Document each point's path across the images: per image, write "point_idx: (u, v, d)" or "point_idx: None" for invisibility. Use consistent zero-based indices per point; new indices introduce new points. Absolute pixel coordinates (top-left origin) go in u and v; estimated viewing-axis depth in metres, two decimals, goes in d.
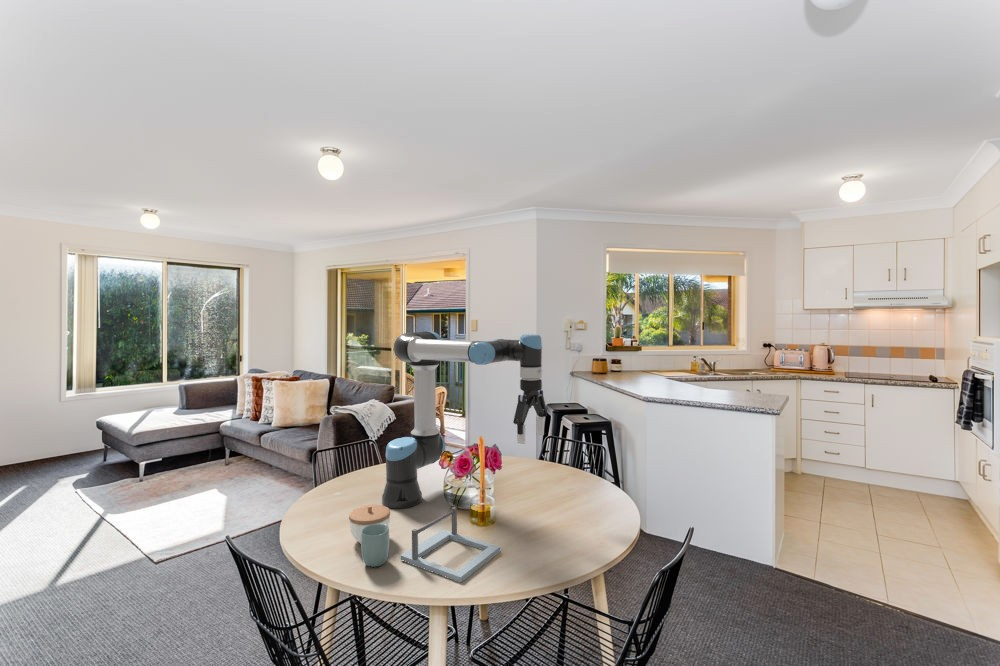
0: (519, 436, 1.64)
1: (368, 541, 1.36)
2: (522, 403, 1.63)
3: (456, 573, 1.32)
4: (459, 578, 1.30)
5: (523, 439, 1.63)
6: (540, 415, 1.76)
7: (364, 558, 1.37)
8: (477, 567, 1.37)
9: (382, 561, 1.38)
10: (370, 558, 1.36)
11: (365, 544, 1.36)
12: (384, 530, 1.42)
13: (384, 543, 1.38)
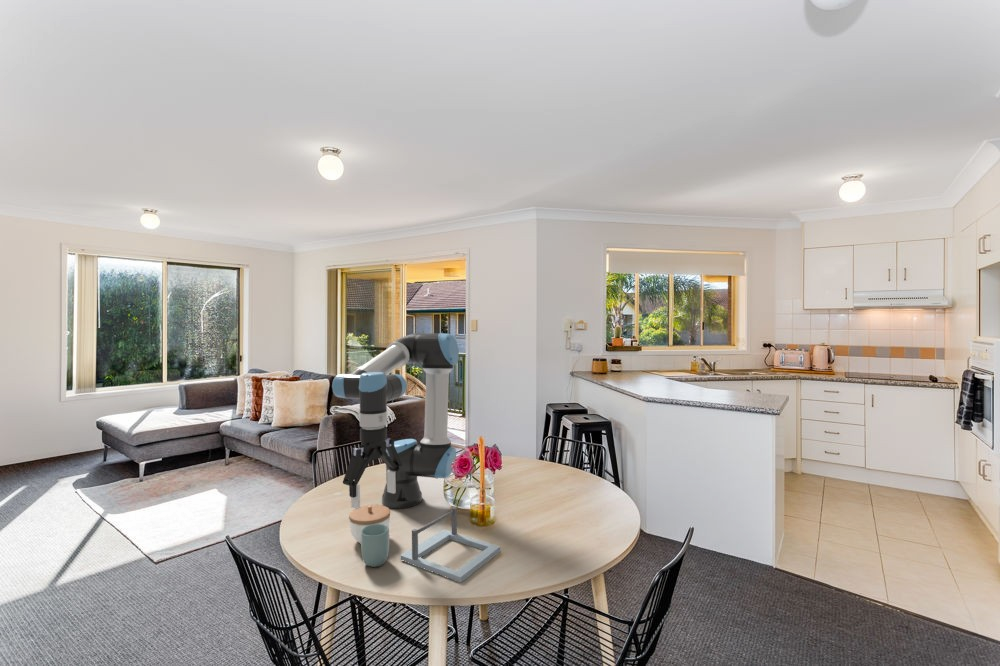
0: (352, 499, 1.33)
1: (368, 541, 1.36)
2: (355, 459, 1.32)
3: (456, 573, 1.32)
4: (459, 578, 1.30)
5: (357, 503, 1.33)
6: (392, 469, 1.45)
7: (364, 558, 1.37)
8: (477, 567, 1.37)
9: (382, 561, 1.38)
10: (370, 558, 1.36)
11: (365, 544, 1.36)
12: (384, 530, 1.42)
13: (384, 543, 1.38)
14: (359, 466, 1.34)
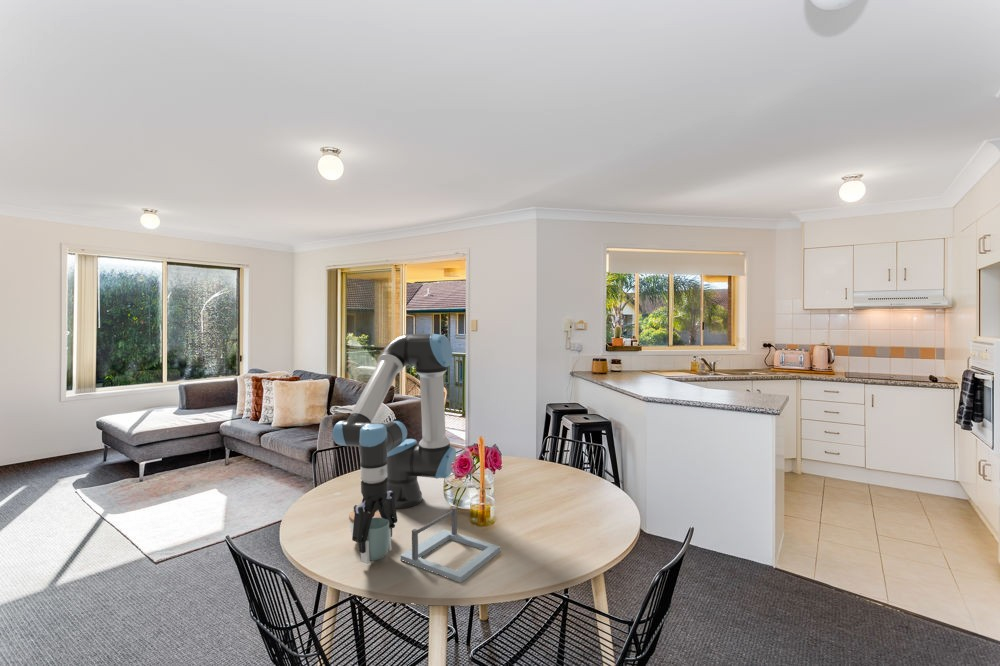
0: (362, 554, 1.37)
1: (368, 534, 1.36)
2: (359, 517, 1.34)
3: (456, 573, 1.32)
4: (459, 578, 1.30)
5: (366, 558, 1.36)
6: None
7: None
8: (477, 567, 1.37)
9: (383, 554, 1.38)
10: (370, 552, 1.37)
11: None
12: (384, 523, 1.42)
13: (385, 537, 1.38)
14: (364, 521, 1.37)
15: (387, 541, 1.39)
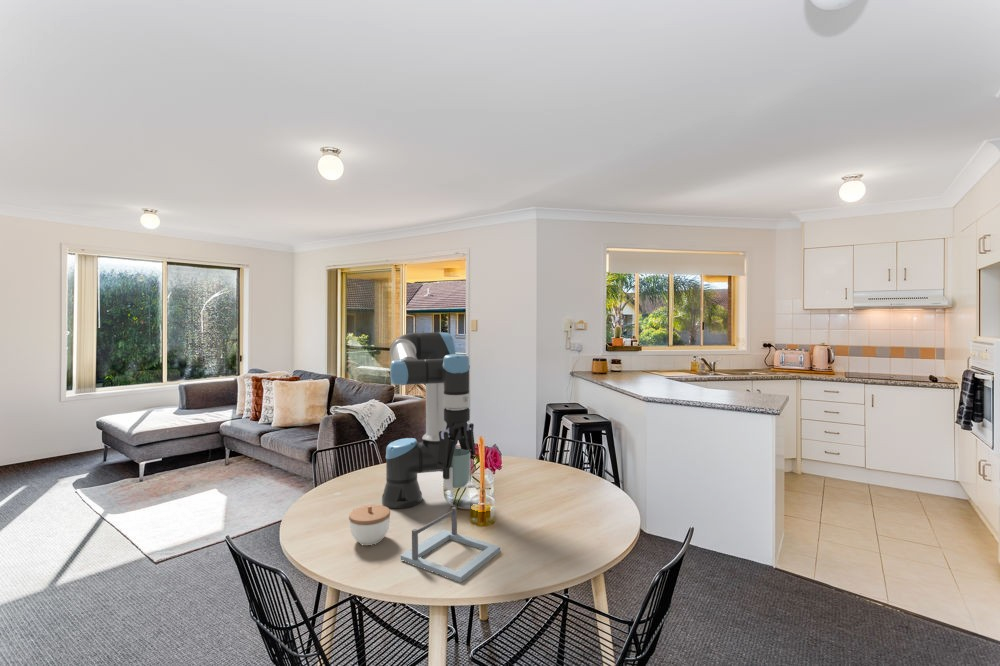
0: (445, 481, 1.38)
1: (452, 461, 1.38)
2: (444, 442, 1.35)
3: (456, 573, 1.32)
4: (459, 578, 1.30)
5: (450, 485, 1.37)
6: None
7: None
8: (477, 567, 1.37)
9: (465, 482, 1.40)
10: (454, 478, 1.38)
11: None
12: (465, 454, 1.44)
13: (467, 464, 1.39)
14: (448, 448, 1.38)
15: (469, 469, 1.41)
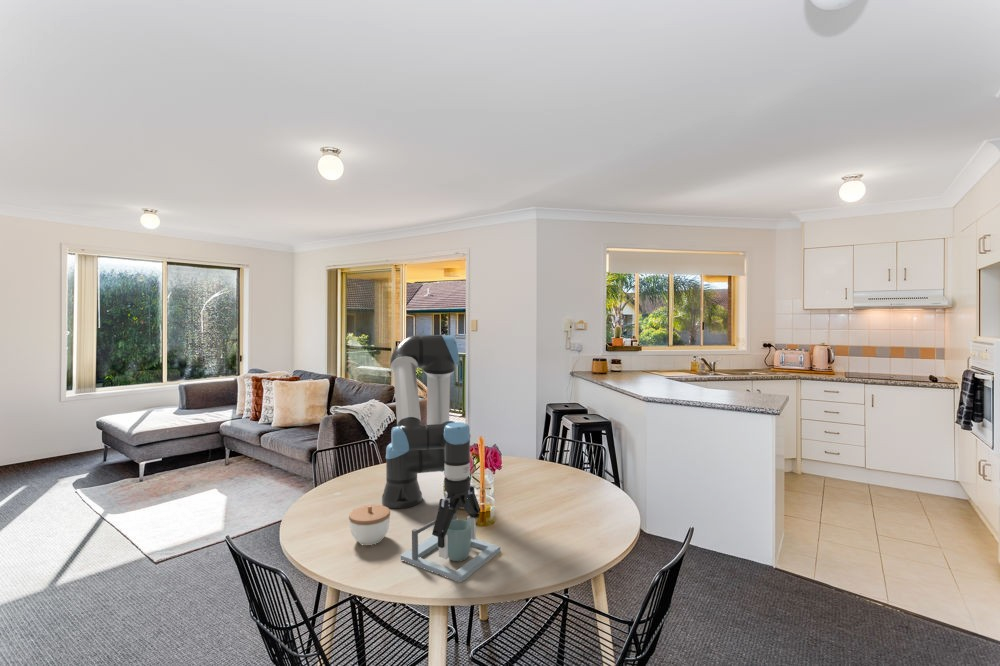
0: (440, 549, 1.37)
1: (453, 536, 1.39)
2: (443, 510, 1.36)
3: (456, 573, 1.32)
4: (459, 578, 1.30)
5: (445, 553, 1.36)
6: (471, 515, 1.49)
7: (448, 553, 1.40)
8: (477, 567, 1.37)
9: (466, 556, 1.41)
10: (455, 553, 1.39)
11: (450, 539, 1.39)
12: (465, 525, 1.45)
13: (468, 538, 1.41)
14: (446, 516, 1.38)
15: (470, 543, 1.42)
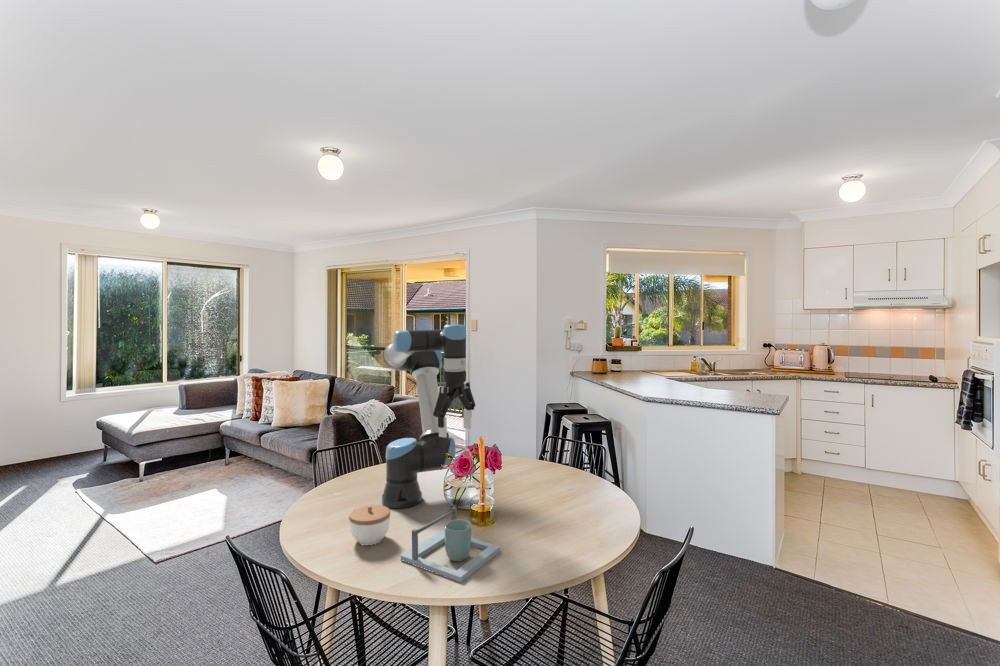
0: (440, 429, 1.59)
1: (453, 536, 1.39)
2: (443, 395, 1.57)
3: (456, 573, 1.32)
4: (459, 578, 1.30)
5: (444, 433, 1.58)
6: (467, 408, 1.70)
7: (448, 553, 1.40)
8: (477, 567, 1.37)
9: (466, 556, 1.41)
10: (455, 553, 1.39)
11: (450, 539, 1.39)
12: (466, 525, 1.45)
13: (468, 538, 1.41)
14: (445, 402, 1.60)
15: (470, 543, 1.42)
